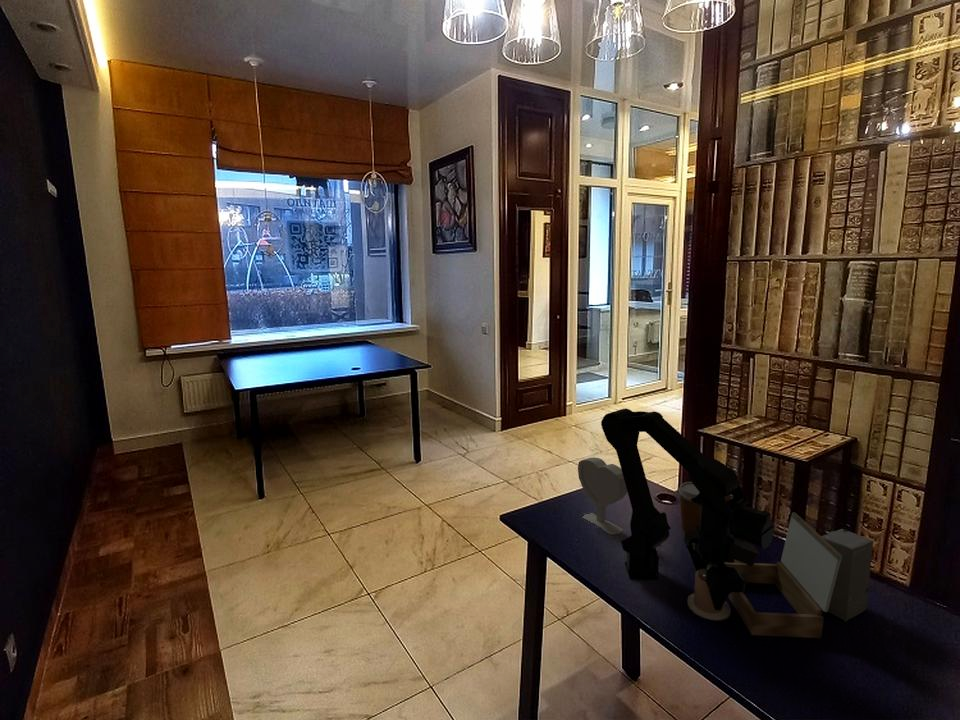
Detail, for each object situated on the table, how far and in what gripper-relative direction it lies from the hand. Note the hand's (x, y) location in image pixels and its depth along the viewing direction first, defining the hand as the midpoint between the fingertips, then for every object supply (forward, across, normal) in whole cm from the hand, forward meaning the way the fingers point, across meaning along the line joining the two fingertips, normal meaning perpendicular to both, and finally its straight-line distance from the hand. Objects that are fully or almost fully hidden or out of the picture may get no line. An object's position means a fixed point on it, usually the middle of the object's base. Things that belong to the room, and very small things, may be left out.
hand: (709, 595), depth 109 cm
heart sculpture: (+3, +35, +18) cm, 39 cm away
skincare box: (+3, +2, -28) cm, 28 cm away
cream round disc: (+3, 0, 0) cm, 3 cm away
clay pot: (+2, 0, 0) cm, 2 cm away
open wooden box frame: (+3, +1, -13) cm, 14 cm away
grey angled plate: (-9, +1, -19) cm, 21 cm away
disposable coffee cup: (+3, +33, -8) cm, 34 cm away
